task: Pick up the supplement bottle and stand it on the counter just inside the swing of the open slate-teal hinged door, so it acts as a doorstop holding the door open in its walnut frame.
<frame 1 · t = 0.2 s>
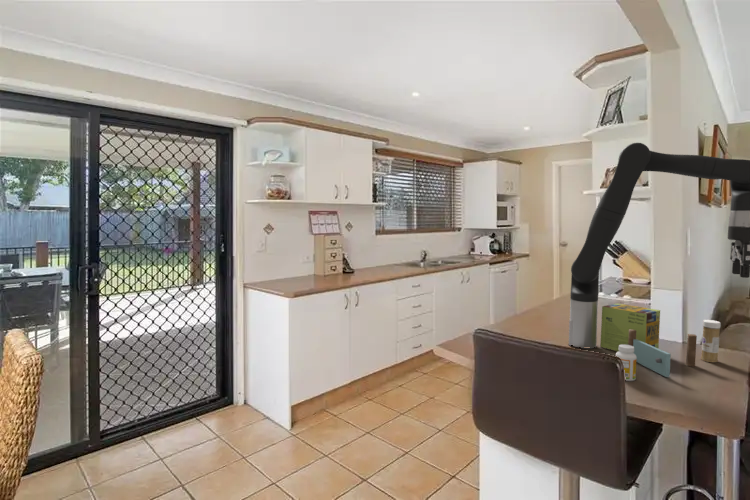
hand: (740, 275, 134), 29 cm above the breakfast bar, fingers open, 8 cm apart
door: (648, 357, 132), point 4 cm above the breakfast bar, hinge at -60.0°
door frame: (631, 359, 141), on the breakfast bar
protein box: (628, 350, 151), on the breakfast bar
supplement bottle: (625, 378, 125), on the breakfast bar
sprinkles bottle: (709, 361, 140), on the breakfast bar
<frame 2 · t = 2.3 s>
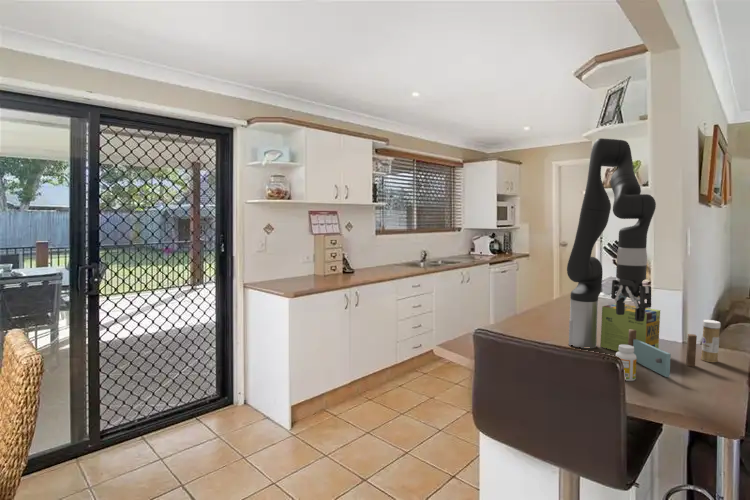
hand: (629, 317, 124), 18 cm above the breakfast bar, fingers open, 8 cm apart
nothing on the breakfast bar moved.
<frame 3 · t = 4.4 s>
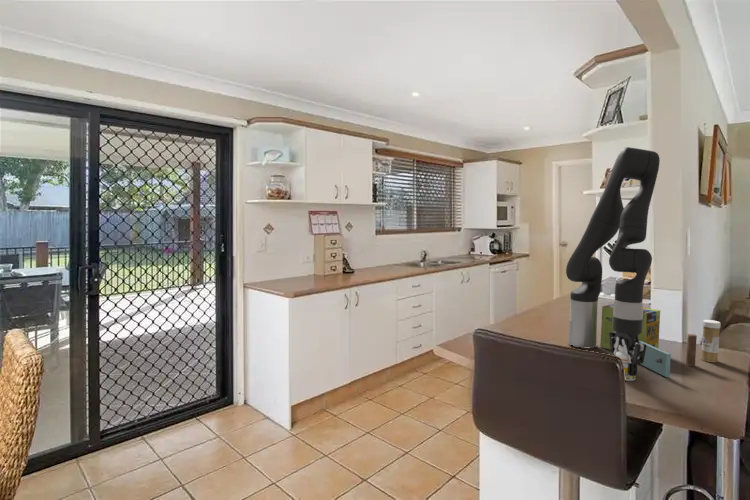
hand: (625, 371, 125), 2 cm above the breakfast bar, fingers closed on supplement bottle, 5 cm apart
supplement bottle: (625, 378, 125), on the breakfast bar, touching gripper
everything else where it was.
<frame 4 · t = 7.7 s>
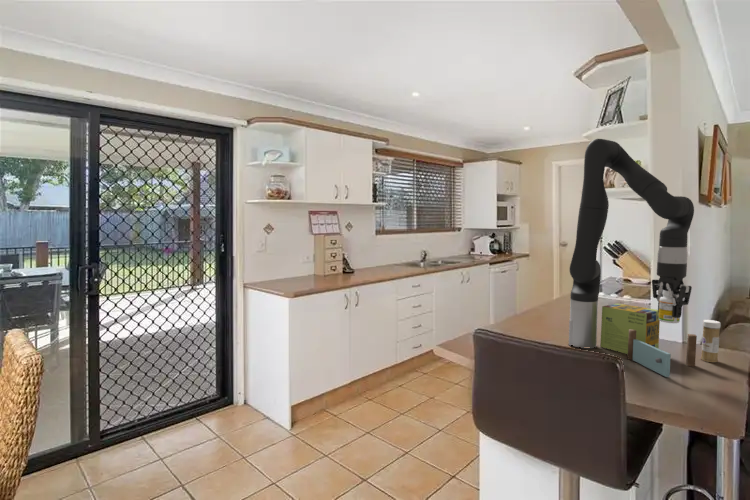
hand: (669, 315, 131), 17 cm above the breakfast bar, fingers closed on supplement bottle, 5 cm apart
supplement bottle: (668, 322, 131), point 15 cm above the breakfast bar, touching gripper
everything else where it was.
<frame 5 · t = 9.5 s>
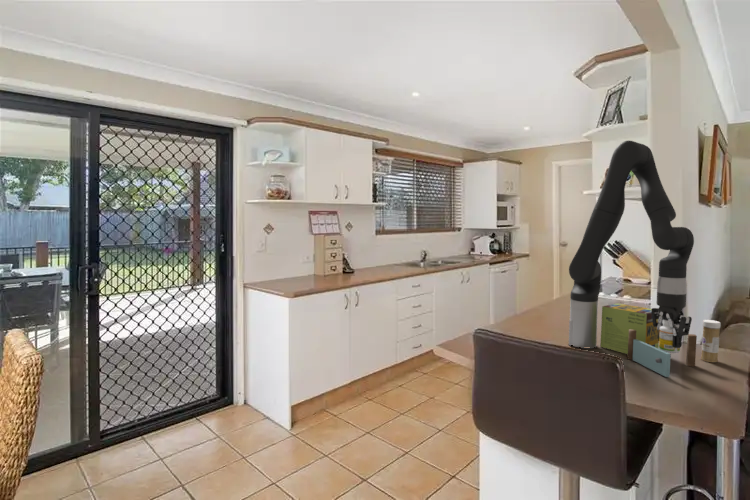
hand: (669, 344, 131), 8 cm above the breakfast bar, fingers closed on supplement bottle, 5 cm apart
supplement bottle: (669, 351, 132), point 6 cm above the breakfast bar, touching gripper
everything else where it was.
when the fingers open (3 cm above the breakfast bar, at t = 10.9 s): supplement bottle drops 1 cm, on the breakfast bar.
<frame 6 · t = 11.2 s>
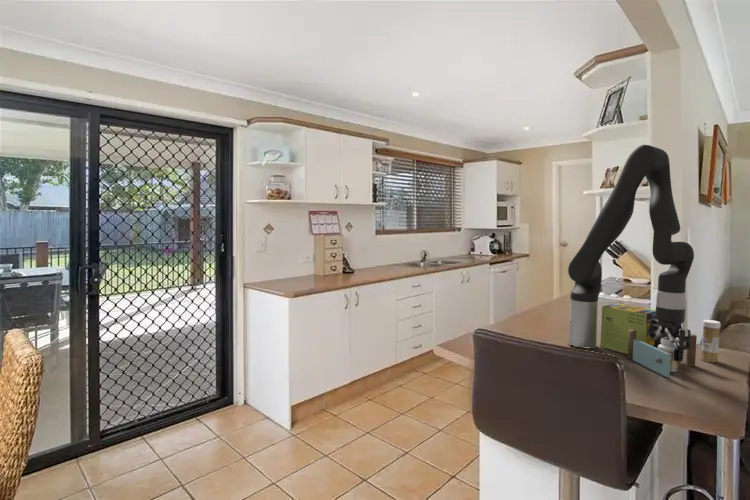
hand: (667, 356, 132), 4 cm above the breakfast bar, fingers open, 8 cm apart
supplement bottle: (667, 369, 132), on the breakfast bar
everything else where it was.
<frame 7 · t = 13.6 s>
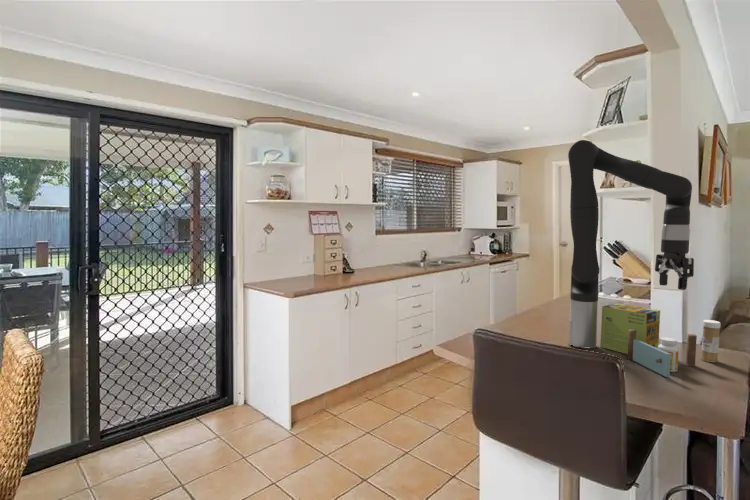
hand: (672, 287, 139), 25 cm above the breakfast bar, fingers open, 8 cm apart
nothing on the breakfast bar moved.
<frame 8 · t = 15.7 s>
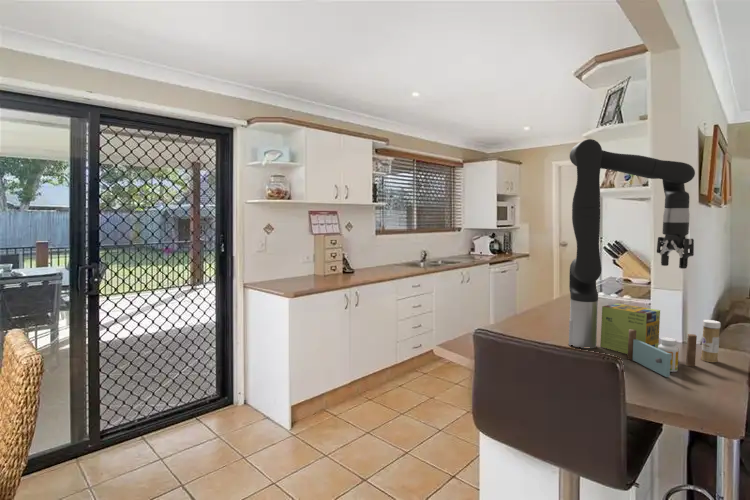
hand: (673, 266, 149), 30 cm above the breakfast bar, fingers open, 8 cm apart
nothing on the breakfast bar moved.
at the end: supplement bottle 0.3 cm from the target spot, on the breakfast bar; supplement bottle tilted 0°; door at -60° (first picture: -60°) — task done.
